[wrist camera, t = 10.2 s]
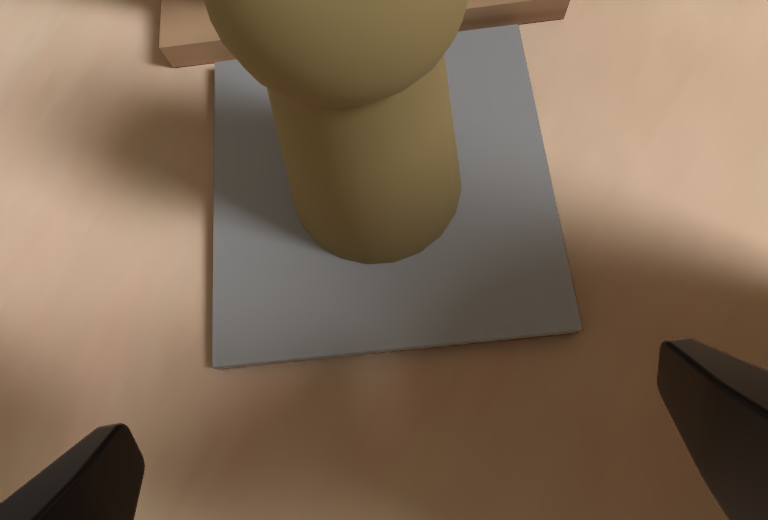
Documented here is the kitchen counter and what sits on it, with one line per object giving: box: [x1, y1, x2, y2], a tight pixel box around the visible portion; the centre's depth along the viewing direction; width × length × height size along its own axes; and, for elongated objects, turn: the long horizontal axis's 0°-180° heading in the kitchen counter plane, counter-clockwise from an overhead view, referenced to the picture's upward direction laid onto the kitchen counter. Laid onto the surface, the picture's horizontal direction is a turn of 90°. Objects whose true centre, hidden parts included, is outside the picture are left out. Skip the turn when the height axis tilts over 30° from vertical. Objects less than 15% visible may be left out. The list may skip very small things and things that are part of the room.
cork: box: [204, 0, 468, 264], centre depth 14 cm, size 6×6×11 cm
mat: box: [212, 24, 582, 369], centre depth 19 cm, size 12×12×1 cm
